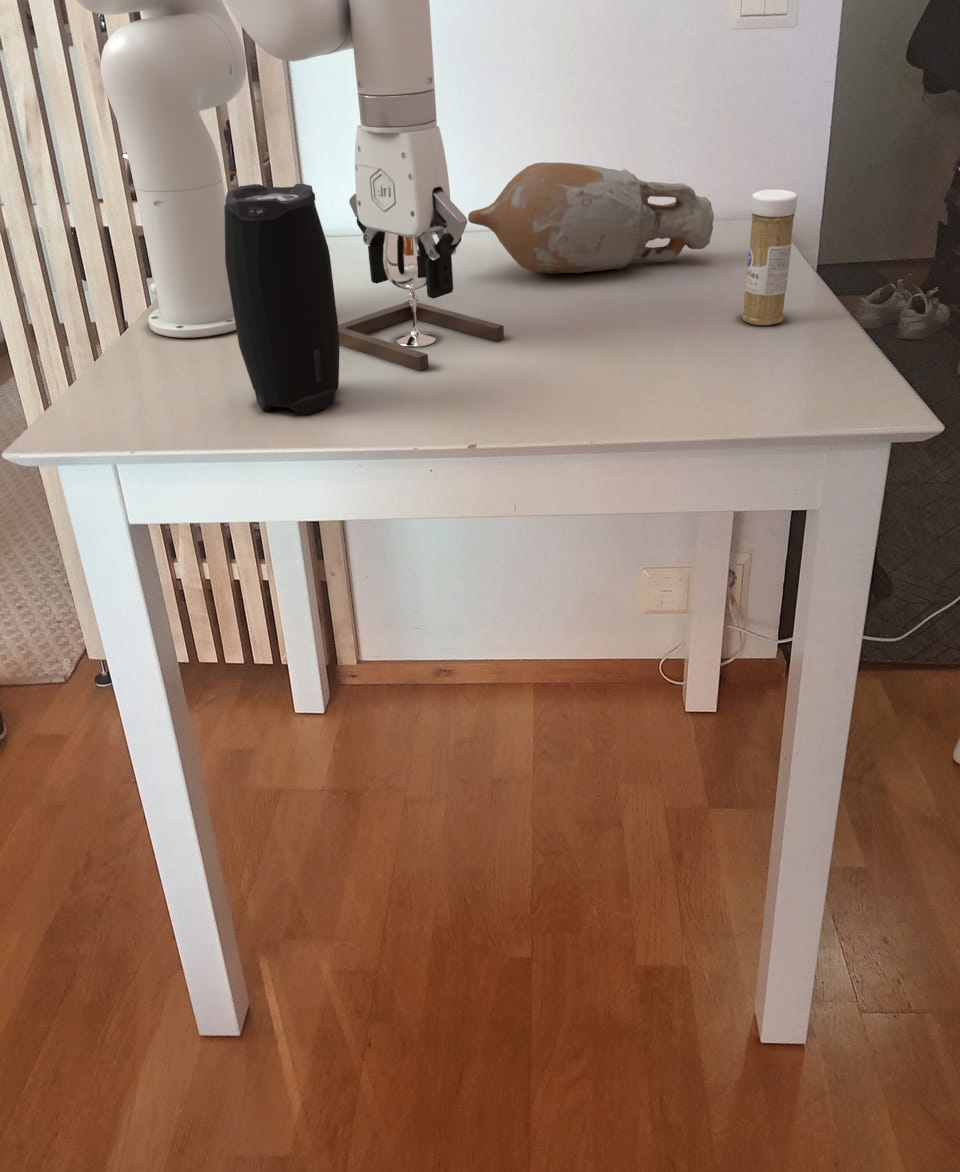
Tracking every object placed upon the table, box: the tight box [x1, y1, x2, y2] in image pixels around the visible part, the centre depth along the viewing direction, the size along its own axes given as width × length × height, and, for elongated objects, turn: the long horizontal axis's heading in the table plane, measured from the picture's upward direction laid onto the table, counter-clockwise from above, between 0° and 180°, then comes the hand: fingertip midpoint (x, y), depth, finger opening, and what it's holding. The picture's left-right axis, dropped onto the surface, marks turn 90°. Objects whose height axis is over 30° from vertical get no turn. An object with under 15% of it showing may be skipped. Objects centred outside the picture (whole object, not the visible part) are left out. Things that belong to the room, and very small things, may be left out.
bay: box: [338, 300, 505, 372], centre depth 117 cm, size 15×12×2 cm
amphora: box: [467, 162, 715, 275], centre depth 134 cm, size 14×16×30 cm
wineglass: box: [383, 232, 438, 348], centre depth 114 cm, size 6×6×12 cm
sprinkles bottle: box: [741, 189, 798, 326], centre depth 114 cm, size 5×5×14 cm
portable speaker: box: [224, 183, 341, 416], centre depth 98 cm, size 9×9×20 cm
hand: (411, 287), depth 114 cm, fingers open, 8 cm apart
